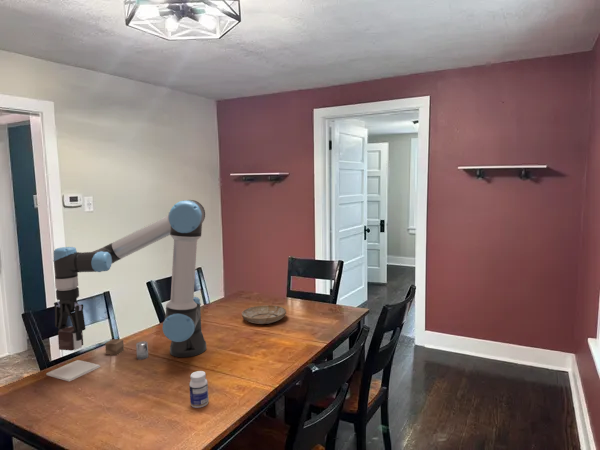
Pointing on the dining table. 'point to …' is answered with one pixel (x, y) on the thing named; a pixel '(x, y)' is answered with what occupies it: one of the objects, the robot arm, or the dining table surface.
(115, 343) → the walnut cube
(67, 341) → the box
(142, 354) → the grey tin
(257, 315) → the ceramic bowl
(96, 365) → the plate
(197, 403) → the pill bottle
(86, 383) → the dining table surface
